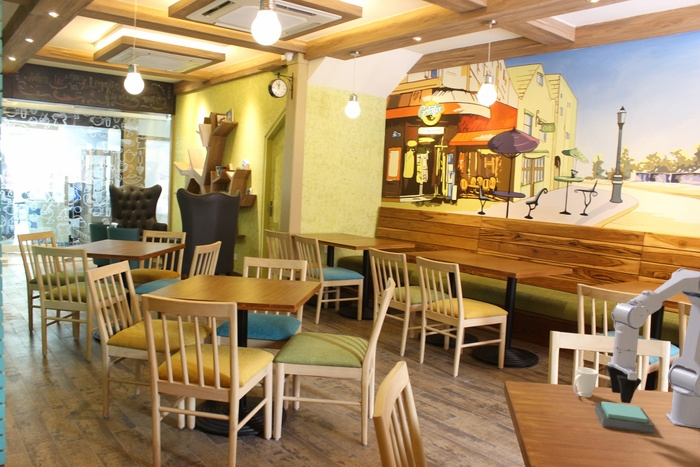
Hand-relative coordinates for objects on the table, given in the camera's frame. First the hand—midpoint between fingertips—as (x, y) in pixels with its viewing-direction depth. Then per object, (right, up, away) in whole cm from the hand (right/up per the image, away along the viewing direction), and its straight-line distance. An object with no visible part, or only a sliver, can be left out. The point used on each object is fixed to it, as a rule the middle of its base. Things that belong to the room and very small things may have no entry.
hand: (620, 397), depth 156 cm
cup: (0, -7, +27) cm, 28 cm away
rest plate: (+4, -7, +7) cm, 11 cm away
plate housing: (+4, -9, +7) cm, 12 cm away
